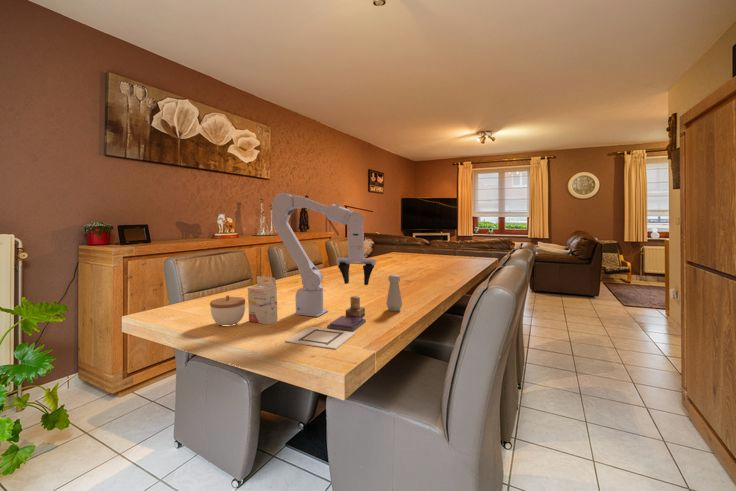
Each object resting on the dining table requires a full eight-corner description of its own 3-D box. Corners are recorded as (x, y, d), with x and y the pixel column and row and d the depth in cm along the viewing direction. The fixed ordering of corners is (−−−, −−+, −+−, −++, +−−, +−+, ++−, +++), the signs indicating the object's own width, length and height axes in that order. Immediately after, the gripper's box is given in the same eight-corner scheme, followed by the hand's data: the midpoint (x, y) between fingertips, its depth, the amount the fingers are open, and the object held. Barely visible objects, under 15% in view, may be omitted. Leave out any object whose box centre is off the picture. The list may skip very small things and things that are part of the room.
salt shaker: (401, 312, 126) (401, 276, 125) (385, 311, 127) (385, 276, 126) (402, 308, 132) (402, 273, 131) (387, 307, 133) (387, 273, 132)
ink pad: (327, 328, 110) (326, 323, 110) (341, 319, 119) (341, 315, 119) (353, 331, 106) (353, 326, 106) (365, 321, 116) (365, 317, 115)
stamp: (345, 318, 120) (345, 298, 119) (351, 314, 125) (351, 295, 124) (359, 320, 118) (358, 299, 117) (364, 315, 123) (364, 296, 122)
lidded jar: (252, 319, 119) (251, 292, 118) (233, 330, 109) (232, 300, 108) (224, 318, 122) (223, 291, 121) (203, 327, 111) (202, 298, 110)
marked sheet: (284, 341, 98) (284, 340, 98) (309, 327, 110) (309, 326, 110) (336, 349, 92) (336, 347, 92) (355, 333, 104) (355, 332, 104)
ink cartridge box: (248, 321, 117) (246, 278, 116) (258, 317, 121) (256, 275, 120) (268, 325, 113) (266, 280, 112) (278, 320, 118) (276, 277, 116)
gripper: (378, 245, 126) (379, 283, 127) (342, 244, 131) (342, 280, 132) (372, 247, 119) (372, 287, 120) (333, 246, 124) (334, 284, 125)
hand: (356, 284), depth 126 cm, fingers open, 7 cm apart
